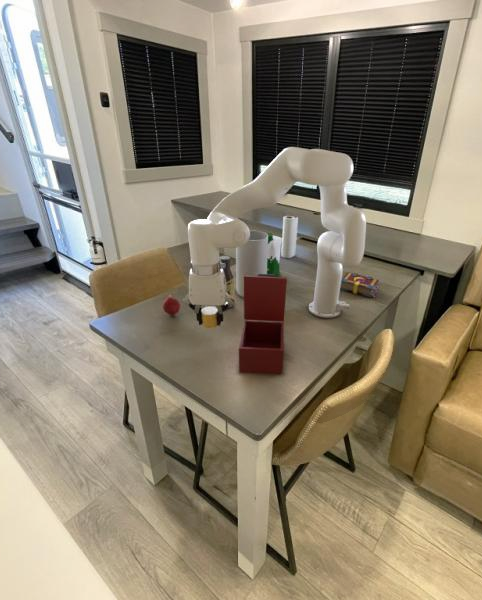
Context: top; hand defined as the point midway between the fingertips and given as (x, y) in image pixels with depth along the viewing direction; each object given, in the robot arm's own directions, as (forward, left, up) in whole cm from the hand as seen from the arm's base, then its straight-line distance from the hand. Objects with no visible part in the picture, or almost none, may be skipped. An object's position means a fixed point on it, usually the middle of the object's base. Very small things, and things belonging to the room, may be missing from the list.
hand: (210, 322), depth 98 cm
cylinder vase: (-9, -42, -12) cm, 44 cm away
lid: (-16, -5, +6) cm, 17 cm away
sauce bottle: (0, -30, -12) cm, 32 cm away
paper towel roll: (-25, -85, -12) cm, 89 cm away
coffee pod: (0, 0, 0) cm, 0 cm away
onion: (+18, -21, -12) cm, 30 cm away
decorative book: (-57, -50, -12) cm, 77 cm away
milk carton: (-16, -61, -12) cm, 64 cm away
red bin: (-16, +1, -11) cm, 19 cm away
